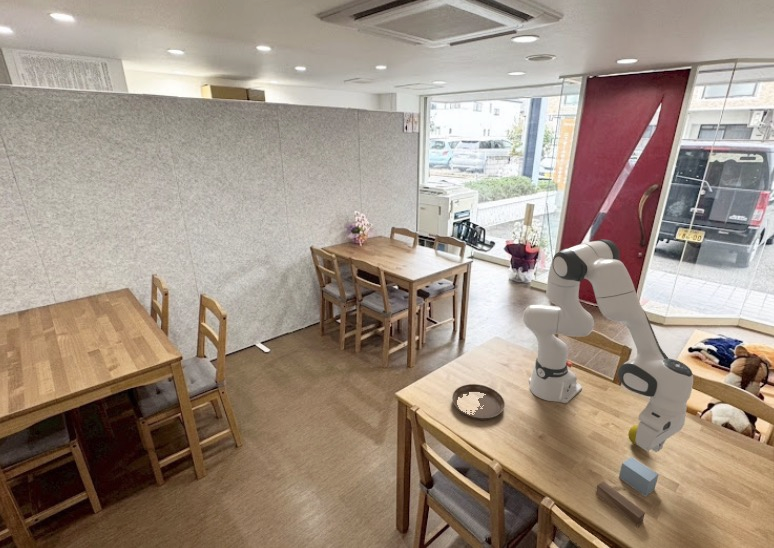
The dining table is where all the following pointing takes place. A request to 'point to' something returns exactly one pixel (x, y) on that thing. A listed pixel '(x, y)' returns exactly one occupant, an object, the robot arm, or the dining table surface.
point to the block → (638, 476)
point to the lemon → (633, 434)
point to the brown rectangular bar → (620, 503)
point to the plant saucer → (481, 401)
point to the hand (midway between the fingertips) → (656, 449)
